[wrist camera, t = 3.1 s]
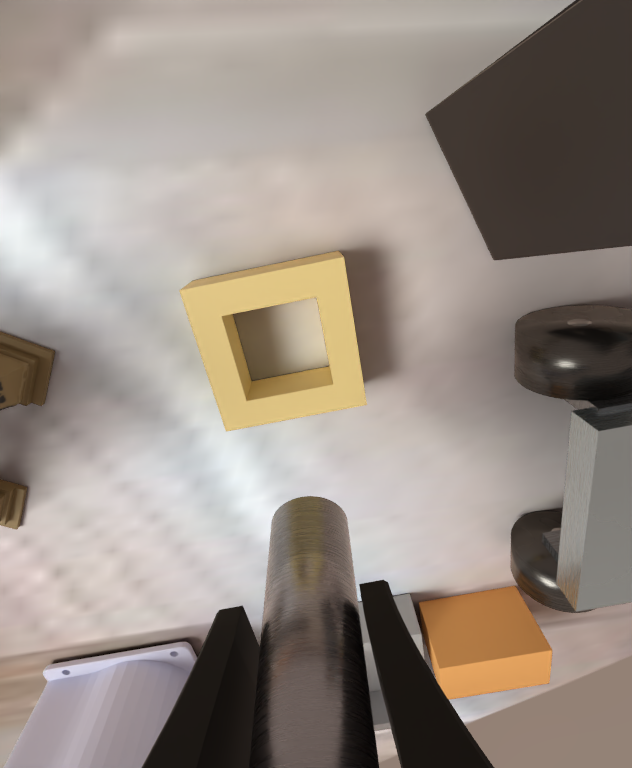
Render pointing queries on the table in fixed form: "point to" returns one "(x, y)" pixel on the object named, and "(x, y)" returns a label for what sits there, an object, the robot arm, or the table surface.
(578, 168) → the phone stand
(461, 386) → the table surface
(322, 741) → the pin
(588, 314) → the toy wheeled cart
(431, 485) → the table surface
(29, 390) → the eiffel tower
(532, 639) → the block
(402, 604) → the tray
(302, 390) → the socket block
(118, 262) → the table surface
